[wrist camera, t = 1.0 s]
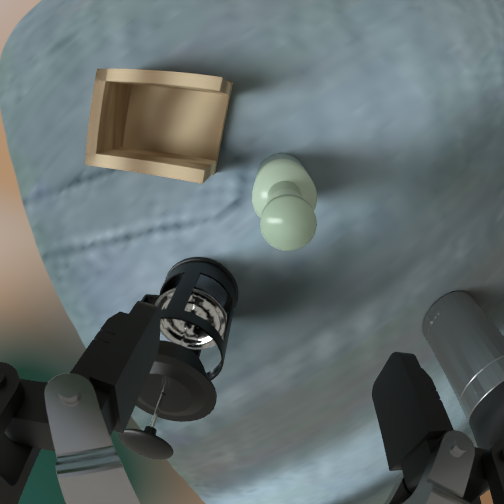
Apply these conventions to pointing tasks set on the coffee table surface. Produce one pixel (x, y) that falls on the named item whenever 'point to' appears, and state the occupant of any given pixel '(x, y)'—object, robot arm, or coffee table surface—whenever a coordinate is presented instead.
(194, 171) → the u rest
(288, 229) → the pale green pin
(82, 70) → the coffee table surface
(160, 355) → the french press
